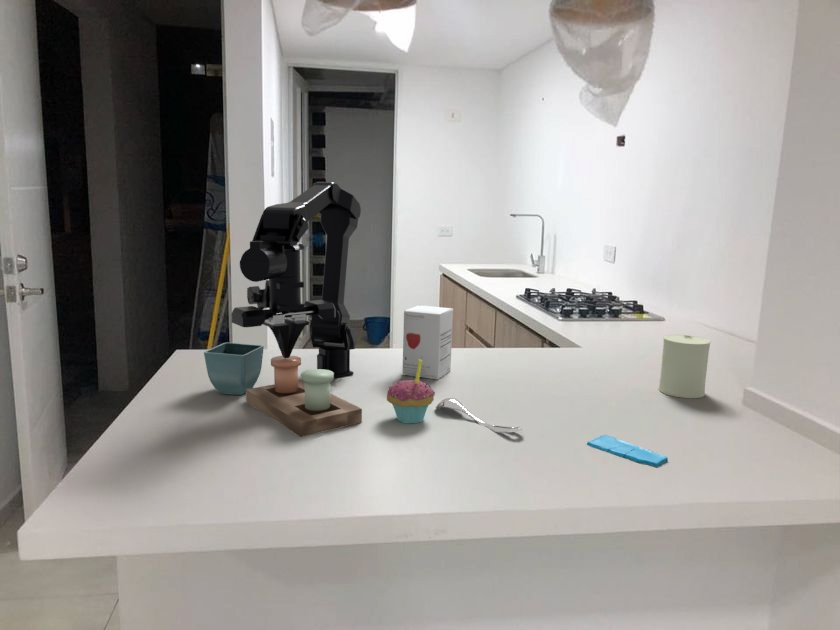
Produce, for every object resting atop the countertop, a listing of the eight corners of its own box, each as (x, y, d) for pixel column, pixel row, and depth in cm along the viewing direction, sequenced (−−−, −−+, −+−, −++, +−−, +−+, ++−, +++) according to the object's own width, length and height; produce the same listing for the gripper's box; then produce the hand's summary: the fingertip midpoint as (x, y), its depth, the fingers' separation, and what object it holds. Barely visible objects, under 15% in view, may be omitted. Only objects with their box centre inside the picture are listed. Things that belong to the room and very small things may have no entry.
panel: (302, 391, 125) (302, 379, 124) (361, 422, 108) (361, 408, 107) (246, 401, 117) (245, 389, 117) (300, 437, 100) (300, 422, 100)
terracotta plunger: (292, 383, 121) (292, 354, 120) (306, 390, 116) (306, 360, 115) (266, 388, 117) (265, 358, 116) (279, 395, 113) (278, 364, 112)
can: (704, 389, 133) (711, 335, 131) (704, 401, 125) (711, 343, 123) (659, 383, 137) (664, 330, 135) (656, 394, 128) (662, 338, 126)
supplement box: (400, 375, 138) (402, 310, 135) (416, 366, 146) (417, 304, 144) (438, 380, 135) (440, 313, 132) (451, 370, 143) (454, 307, 140)
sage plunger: (323, 399, 111) (323, 367, 110) (339, 407, 107) (339, 374, 106) (295, 405, 108) (295, 372, 107) (311, 413, 104) (310, 379, 103)
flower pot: (245, 399, 119) (244, 355, 117) (204, 396, 120) (202, 351, 119) (265, 387, 127) (264, 345, 125) (226, 383, 129) (225, 342, 127)
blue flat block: (648, 467, 91) (671, 454, 94) (583, 441, 100) (606, 430, 104) (648, 477, 91) (670, 463, 95) (583, 450, 101) (606, 438, 104)
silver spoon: (531, 414, 103) (513, 420, 100) (531, 434, 104) (513, 441, 101) (447, 392, 118) (429, 397, 115) (447, 410, 119) (430, 416, 115)
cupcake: (439, 414, 113) (441, 351, 111) (424, 430, 105) (426, 362, 103) (396, 408, 115) (397, 347, 113) (378, 423, 108) (379, 357, 105)
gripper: (308, 268, 125) (309, 343, 128) (218, 273, 113) (221, 355, 116) (337, 274, 116) (337, 354, 119) (242, 280, 105) (245, 368, 107)
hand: (286, 357), depth 116 cm, fingers closed
